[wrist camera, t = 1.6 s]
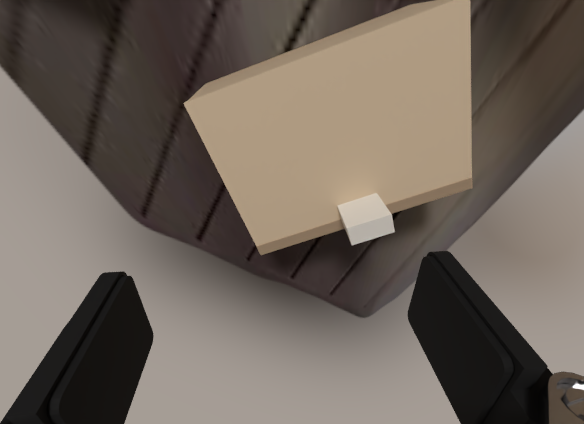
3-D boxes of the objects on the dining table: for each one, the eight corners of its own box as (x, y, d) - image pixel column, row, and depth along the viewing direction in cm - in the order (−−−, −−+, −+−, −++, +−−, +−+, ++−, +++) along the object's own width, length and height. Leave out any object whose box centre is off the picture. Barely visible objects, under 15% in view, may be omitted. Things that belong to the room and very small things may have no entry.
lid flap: (465, -6, 22) (509, -13, 18) (468, 184, 30) (498, 207, 26) (185, 101, 24) (170, 116, 20) (260, 251, 33) (260, 281, 29)
